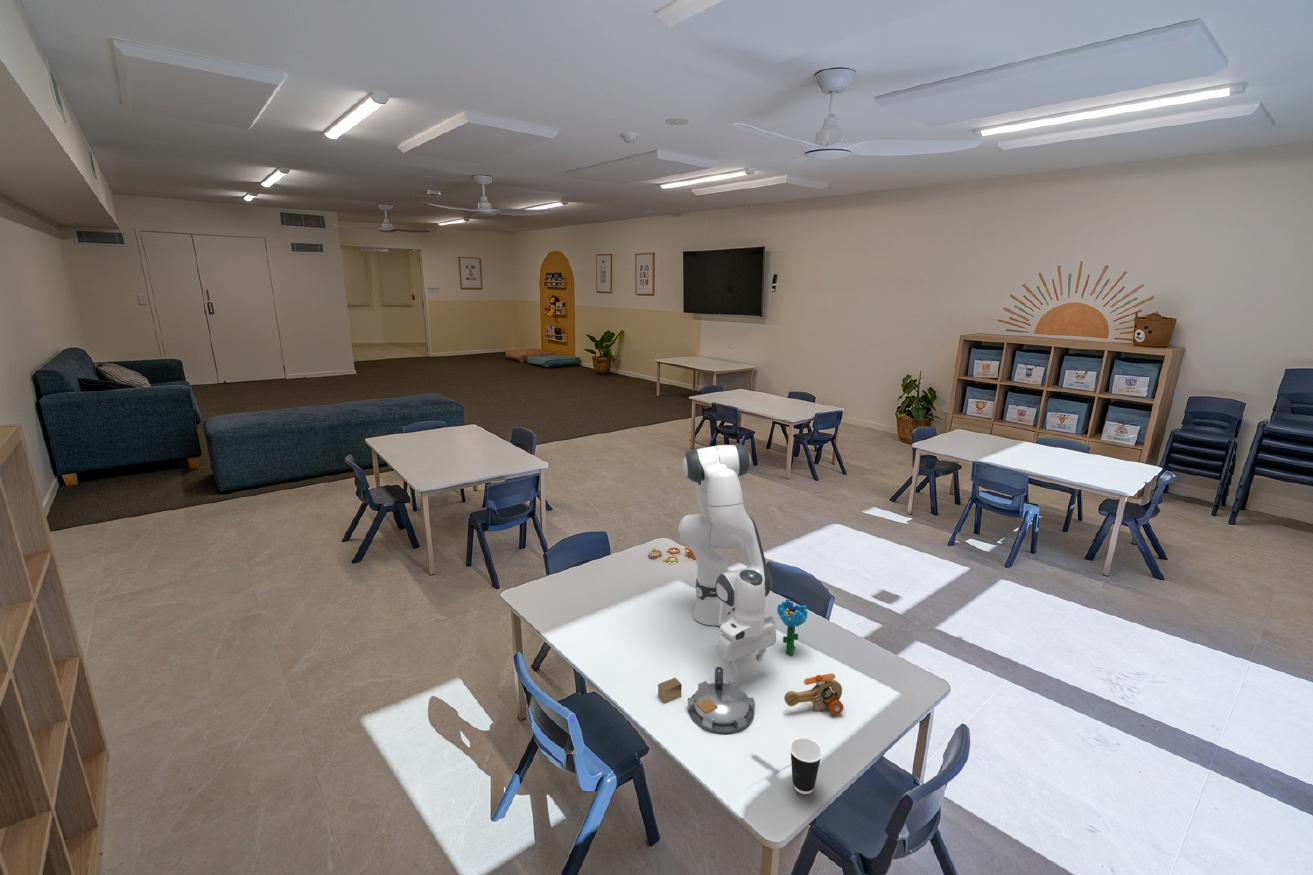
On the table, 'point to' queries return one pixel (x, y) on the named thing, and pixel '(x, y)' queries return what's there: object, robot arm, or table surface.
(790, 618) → the toy flower
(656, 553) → the toy tea set
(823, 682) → the toy helicopter
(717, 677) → the sprocket
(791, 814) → the table surface
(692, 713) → the sprocket base
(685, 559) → the table surface
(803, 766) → the dixie cup
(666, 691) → the wooden block
